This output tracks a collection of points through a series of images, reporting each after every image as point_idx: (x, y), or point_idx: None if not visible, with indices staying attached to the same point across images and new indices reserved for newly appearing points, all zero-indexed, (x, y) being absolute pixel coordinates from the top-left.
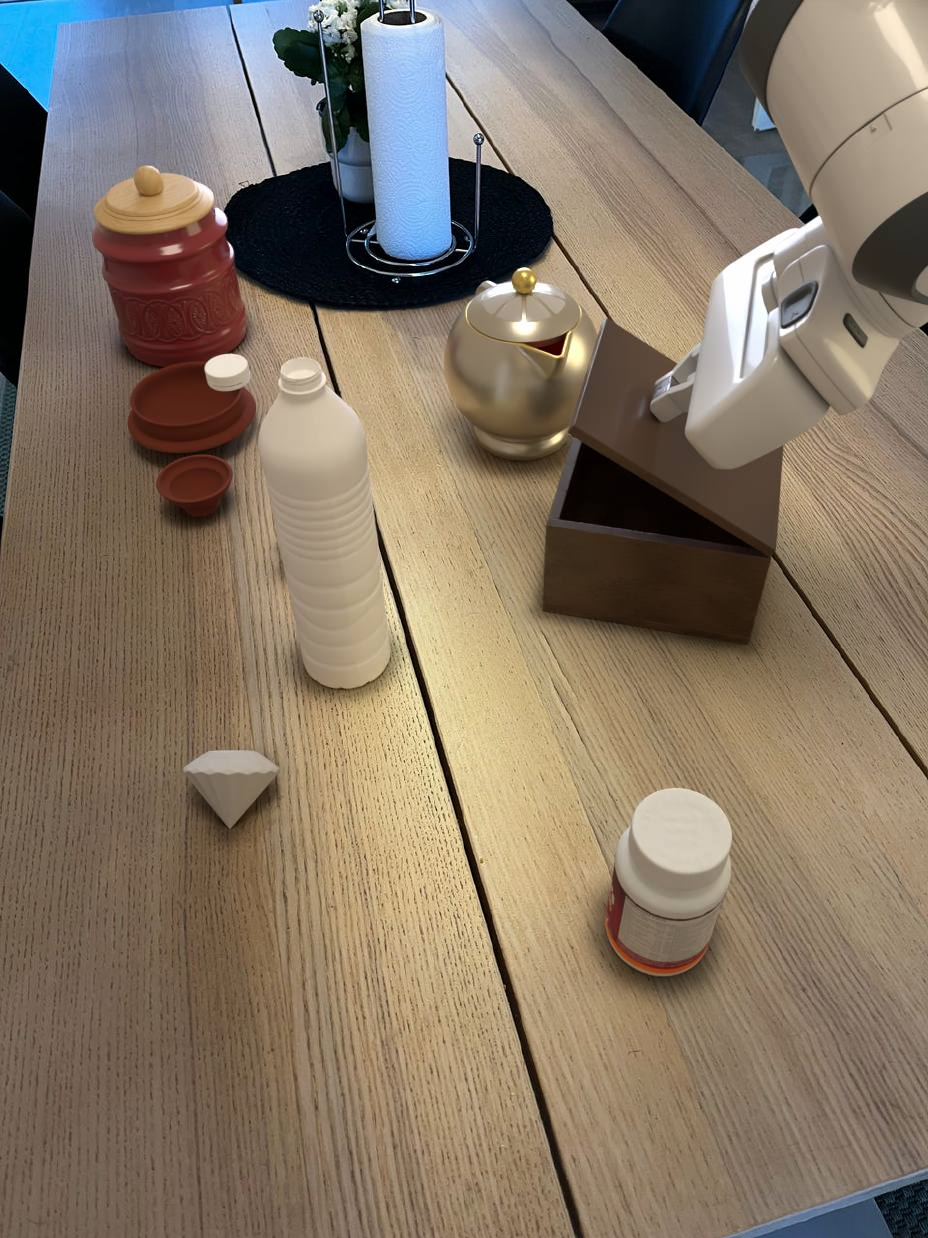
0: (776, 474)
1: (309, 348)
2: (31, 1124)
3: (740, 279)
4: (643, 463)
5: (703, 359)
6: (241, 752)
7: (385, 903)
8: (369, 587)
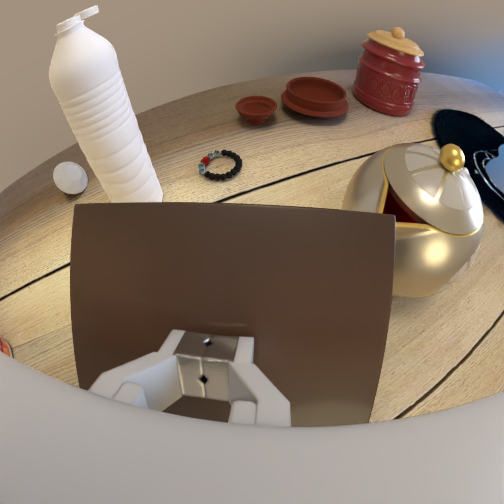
0: None
1: (404, 138)
2: (10, 186)
3: (493, 494)
4: (78, 324)
5: (71, 403)
6: (66, 174)
7: (24, 253)
8: (94, 168)
